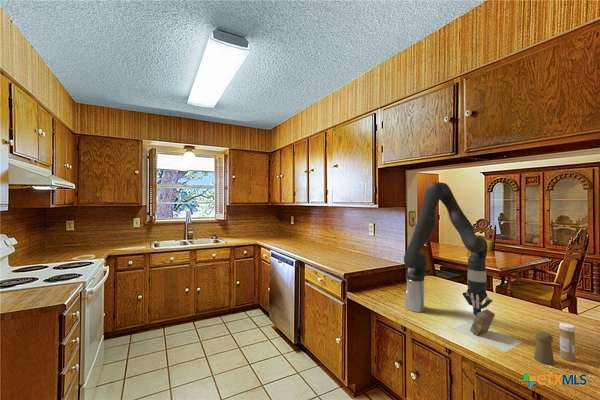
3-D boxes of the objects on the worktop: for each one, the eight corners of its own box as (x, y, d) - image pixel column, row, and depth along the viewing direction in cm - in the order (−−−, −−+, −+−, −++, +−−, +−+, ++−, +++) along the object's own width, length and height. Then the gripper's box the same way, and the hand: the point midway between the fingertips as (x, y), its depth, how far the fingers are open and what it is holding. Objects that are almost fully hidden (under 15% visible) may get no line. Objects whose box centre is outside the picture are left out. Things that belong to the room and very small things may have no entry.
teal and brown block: (469, 330, 126) (477, 313, 124) (479, 326, 131) (487, 309, 128) (477, 336, 123) (484, 318, 121) (487, 331, 128) (495, 314, 125)
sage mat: (450, 329, 131) (450, 328, 131) (469, 322, 139) (469, 321, 139) (505, 353, 111) (505, 352, 111) (523, 342, 119) (523, 341, 119)
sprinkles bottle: (578, 362, 104) (578, 327, 104) (565, 361, 105) (565, 326, 105) (569, 355, 109) (568, 322, 109) (556, 354, 110) (556, 321, 110)
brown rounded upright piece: (533, 360, 106) (533, 332, 106) (534, 354, 110) (534, 327, 110) (554, 367, 101) (554, 338, 101) (555, 360, 105) (554, 332, 105)
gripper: (458, 276, 132) (458, 312, 132) (488, 284, 120) (488, 322, 120) (466, 274, 135) (467, 309, 135) (496, 281, 124) (496, 319, 124)
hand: (477, 315), depth 128 cm, fingers closed
